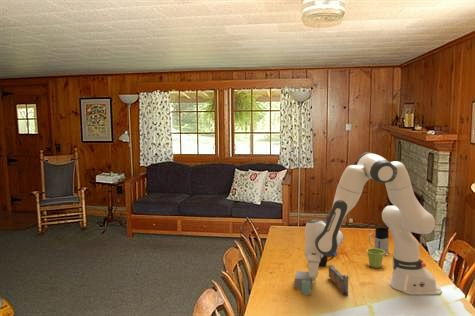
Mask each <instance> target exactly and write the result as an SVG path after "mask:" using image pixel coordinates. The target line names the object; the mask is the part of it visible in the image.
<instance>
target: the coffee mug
mask: <svg viewBox="0 0 475 316" xmlns="http://www.w3.org/2000/svg"><path fill="white" fill-rule="evenodd" d="M334 257H335V256H333V255H332V257H330V258H329V259H328V257H327V256H325V255H323V257H322V258H321V261H320V262H319V267H320V268H323V267H327V263H328V262H330V261H331V260H333V259H334Z"/></svg>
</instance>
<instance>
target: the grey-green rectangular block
mask: <svg viewBox="0 0 475 316" xmlns="http://www.w3.org/2000/svg"><path fill="white" fill-rule="evenodd" d="M311 291H312V289H311V281H307V280H302V289H301V296H311Z"/></svg>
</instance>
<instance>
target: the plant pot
mask: <svg viewBox="0 0 475 316" xmlns="http://www.w3.org/2000/svg"><path fill="white" fill-rule="evenodd" d="M366 252H367V256H368V262H369V267H371V268H373V267H374V269H379V268H381V267H382V264H383V257H384V256H383V255H384V253H385V251H383V250H381V249H376V248H375V247H374V248H373V247H370V248H368V249H366Z"/></svg>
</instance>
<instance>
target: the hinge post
mask: <svg viewBox="0 0 475 316" xmlns="http://www.w3.org/2000/svg"><path fill="white" fill-rule="evenodd" d="M342 275H343V292H342V296H345V297H347V296H349V275H346V274H342Z"/></svg>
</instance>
